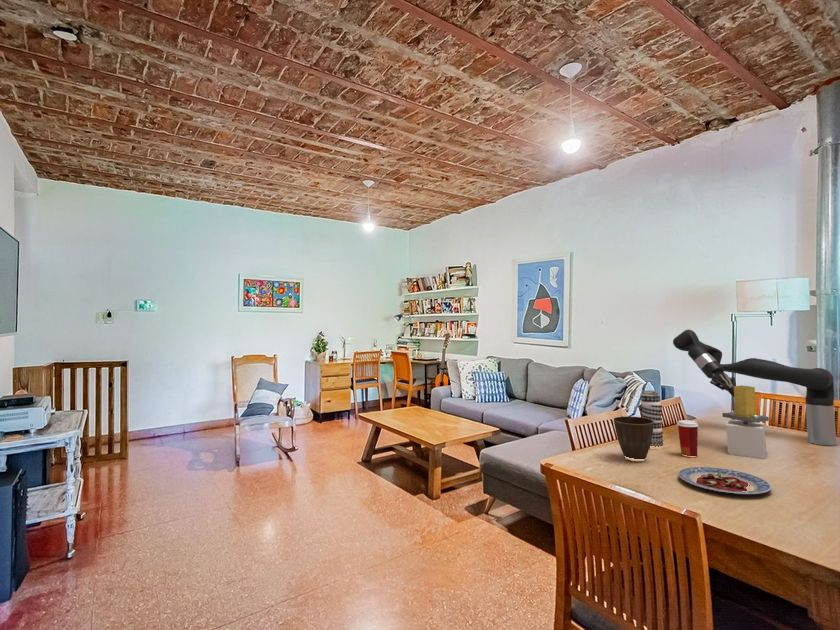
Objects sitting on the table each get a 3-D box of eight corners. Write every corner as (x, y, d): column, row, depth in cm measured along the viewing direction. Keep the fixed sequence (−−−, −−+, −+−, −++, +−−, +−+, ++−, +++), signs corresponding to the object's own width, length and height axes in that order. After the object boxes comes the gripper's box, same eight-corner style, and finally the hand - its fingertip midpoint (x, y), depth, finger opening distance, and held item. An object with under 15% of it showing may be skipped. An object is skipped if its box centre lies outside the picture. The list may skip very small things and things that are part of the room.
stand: (731, 447, 189) (729, 416, 189) (766, 451, 181) (764, 419, 181) (727, 453, 180) (726, 421, 180) (764, 458, 172) (762, 424, 172)
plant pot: (663, 464, 168) (661, 423, 169) (625, 465, 168) (623, 424, 169) (644, 453, 183) (642, 416, 184) (609, 454, 183) (607, 416, 184)
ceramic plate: (778, 506, 128) (778, 496, 128) (677, 491, 141) (677, 482, 141) (765, 479, 150) (765, 471, 150) (679, 469, 163) (678, 461, 163)
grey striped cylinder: (665, 445, 194) (662, 390, 195) (663, 450, 187) (661, 392, 188) (642, 443, 199) (639, 389, 200) (640, 448, 192) (637, 391, 193)
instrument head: (722, 416, 185) (721, 385, 185) (739, 414, 188) (738, 383, 188) (751, 422, 174) (750, 389, 174) (768, 420, 177) (767, 387, 177)
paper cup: (698, 454, 180) (696, 420, 181) (701, 459, 173) (699, 424, 174) (677, 452, 184) (675, 419, 184) (679, 457, 177) (677, 423, 177)
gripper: (714, 370, 200) (742, 400, 188) (692, 371, 196) (719, 402, 184) (725, 359, 195) (754, 389, 183) (702, 360, 192) (731, 391, 179)
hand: (737, 396), depth 184 cm, fingers closed
